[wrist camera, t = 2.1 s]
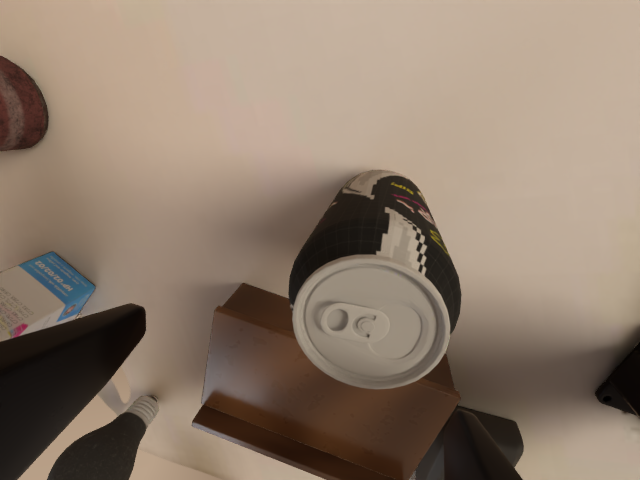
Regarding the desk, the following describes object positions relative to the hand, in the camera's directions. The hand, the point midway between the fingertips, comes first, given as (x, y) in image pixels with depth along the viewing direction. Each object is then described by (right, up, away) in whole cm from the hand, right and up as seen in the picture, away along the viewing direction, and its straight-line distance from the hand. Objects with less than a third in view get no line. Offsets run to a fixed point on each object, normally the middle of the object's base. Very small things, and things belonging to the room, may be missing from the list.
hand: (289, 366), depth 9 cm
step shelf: (+1, -6, +16) cm, 18 cm away
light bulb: (-16, -13, +23) cm, 31 cm away
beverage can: (+5, +5, +11) cm, 13 cm away
